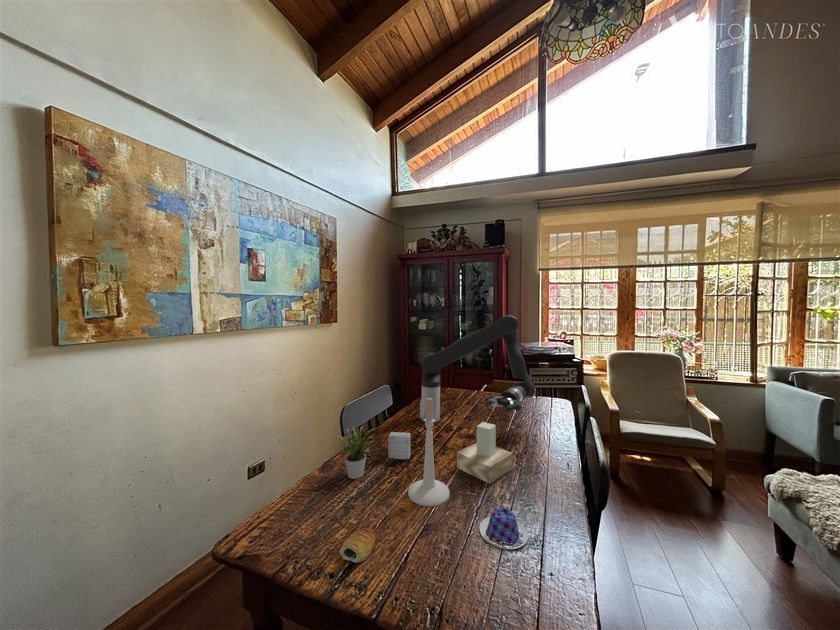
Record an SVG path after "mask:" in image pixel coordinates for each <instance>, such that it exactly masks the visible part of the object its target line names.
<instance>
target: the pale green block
mask: <svg viewBox="0 0 840 630" xmlns="http://www.w3.org/2000/svg"><path fill="white" fill-rule="evenodd" d="M496 428H497V425H496V424H494V423H488V422H484V421H482V422H481V423H479V424H478V425H477V426H476V442H477V446H476V454H478V455H481V456H484V457H487V458H490V457H492V456H493V455H494V454H495V449H496V447H497V445H496V441H497V435H496V433H497V432H496V431H497V429H496Z"/></svg>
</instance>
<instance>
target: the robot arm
mask: <svg viewBox="0 0 840 630" xmlns="http://www.w3.org/2000/svg"><path fill="white" fill-rule="evenodd" d="M518 328H519V321H518V319H517V318H516V317H515V316H513V315H510V314H507V315H506V314H505V315H503V316H502V317H501V318H499V319H497V320H496V321H494V322H493V323H491V324H490V325H487V326H486V327H483V328H480V329H477V330H475V331H473V332H470V333H468V334H466V335H464V336H462V337H460V338H458V339H457V340H455V341H454V342H452V343H451V344H450V345H448V346H447V347H446V348H444V349H442V350H440V351H437V352H434V353H433V352H429V353H427V354H425V355H423V358H422V359H421V364H420V366H421V367H420V368H421V370H422V374H421V375H422V376H421V377H422V378H421V399H420V400H419V420H422V422H424V419H426V399H427V398H429V397H430V398H432V399H433V419H435V422H434V423H436V422H439V421H440V419H441V417H440V416H441V370H442V369H443V368H445V367H446V366H447V365H449V364H451V363H453V362H456V361H459V360H461V359H464V358H465V357H468V356H470V355H472V354H475V353H476V352H478V351H480V350H481V349H483V348H485V347H486V346H487V345H489V344H490V343H492V342H494V341H496V340H498V339H501V338H502V339H503V342H504V345H505V349H506V352H507V358H508V363H509V366H510V371H511V375H512V377H513V378H515V379H521V380H522V382H515V383H513V384H512V386H511V387H510V388H508V389H506V390H504V391H502V392H501V393H500V395H499V396H494V395H493V394H490V395H488V396H486V397H485V402H484V404H485V407H486V408H490V407H491V406H494V407H502V408H505V409H506V412H507V413H511V412H512V411H516V412H520V411H521V410H522V409H523V408H524V406H523V405H524V404H523V403H524V402H523V401H524V400H525V399H527V398H533V397H534V396H535V395H536V392H537V390H536V386H535V384H534V382H533V380H532V379H531V377H530V374H529V373H528V369H527V366H526V363H525V358H524V355H523V353H522V352H523V351H522V349H521V347H520V345H519V341H518V340H519V339H518V334H517V330H518Z"/></svg>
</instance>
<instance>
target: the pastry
mask: <svg viewBox="0 0 840 630" xmlns="http://www.w3.org/2000/svg"><path fill="white" fill-rule="evenodd" d="M376 537H377V534H376V532H375V531H374V530H373V529H372V528H370V527H363V528H362V529H358V531H354V532H353V533H350V534H349V536H348V537H346V538H345V539H344V541H343V544H342V546H341V548H340V549H339V551H338V553H339V555H340V557H341V558H342V559H343V560H345V561H349V562H353V563H355V564H357V563H358V562H359V563H362V562H364V561H365V560H367V558H368V557H369V556H370V555H371V552H372V551H373V548H374V546H375V543H376Z"/></svg>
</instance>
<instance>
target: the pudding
mask: <svg viewBox="0 0 840 630" xmlns="http://www.w3.org/2000/svg"><path fill="white" fill-rule="evenodd" d="M478 529H479V533H480V534H481V537H483V539H484V540H486V542H488V543H489V544H491V545H492V546H495V547H496V548H497V547H498V548H499V549H504V550H515V549H519V548H521V547H523V546H525V544H526V543H527V541H528V539H529V536H528V534H529V533H528V530H526V527H524V525H522V524H521V523H520V522H519V521H517V517H516V515H515V514H514V513H513V512H512V510H510V509H508V508H505V507H500V508H498V507H496V508H495V509H493V511H492V512H491V514H490V516H487V517H486V518H483V520H482V521H481V522H480V525H479V528H478ZM518 529H520V530H521V531H522V533H523V534H524V535H523V536H524V540H523V541H524V542H523V543H524V544H521V546H518V547H513V548H512V547H511V548H503V547H500V546H497V545H495V544H493V543H492V542H491V541H489V539H488V538H487V535H486V530H487V534H488V536H490V537H491V538H494V539H495V540H496V541H497V542H501V543H502V542H506V543H509V544H511V543H513V542H514V541H517V542H518V540H520V533H519V530H518ZM494 539H493V540H494ZM495 540H494V541H495ZM496 541H495V542H496ZM497 542H496V543H497ZM514 543H515V542H514ZM514 543H513V544H514ZM511 545H512V544H511Z"/></svg>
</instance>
